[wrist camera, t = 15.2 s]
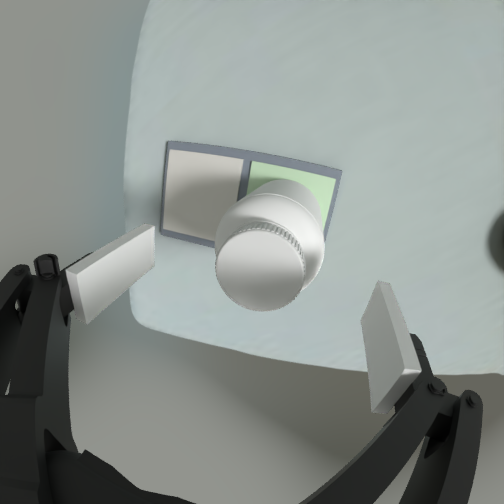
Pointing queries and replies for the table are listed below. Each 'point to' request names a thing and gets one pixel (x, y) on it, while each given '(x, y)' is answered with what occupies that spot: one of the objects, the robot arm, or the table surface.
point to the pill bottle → (270, 245)
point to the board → (229, 186)
